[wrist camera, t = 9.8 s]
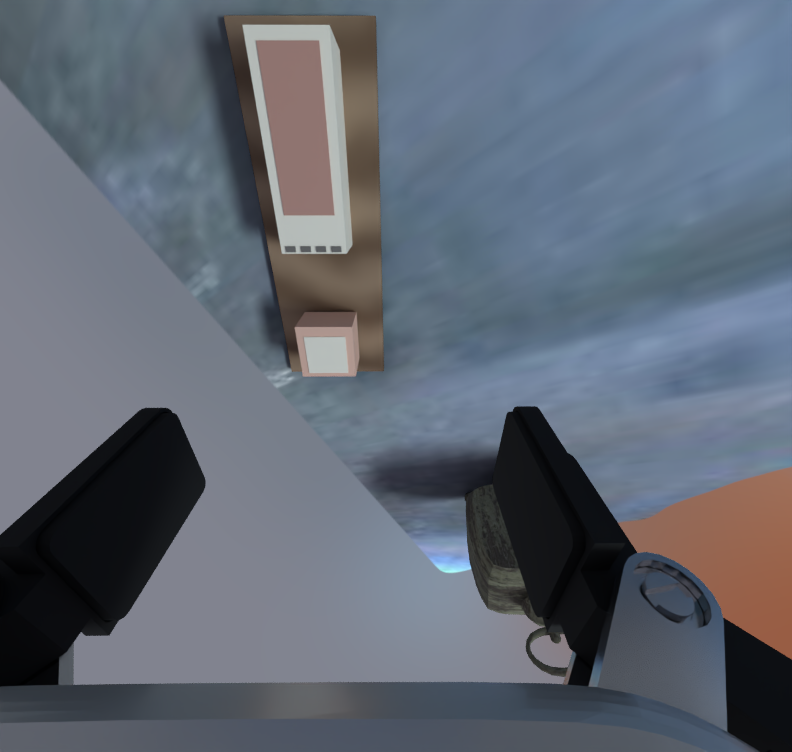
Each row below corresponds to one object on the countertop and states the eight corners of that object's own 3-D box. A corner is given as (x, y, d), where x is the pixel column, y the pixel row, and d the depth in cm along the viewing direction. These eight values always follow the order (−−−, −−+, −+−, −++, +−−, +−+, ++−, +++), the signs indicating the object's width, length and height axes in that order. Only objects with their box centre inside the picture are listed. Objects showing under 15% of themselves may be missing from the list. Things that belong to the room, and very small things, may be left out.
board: (228, 19, 26) (223, 15, 25) (375, 20, 26) (375, 15, 26) (293, 368, 43) (291, 371, 42) (383, 368, 43) (383, 371, 42)
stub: (305, 312, 38) (294, 327, 34) (356, 311, 38) (352, 327, 34) (311, 357, 41) (302, 376, 37) (359, 357, 41) (355, 376, 37)
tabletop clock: (457, 501, 57) (496, 694, 35) (455, 464, 52) (498, 661, 31) (541, 493, 56) (633, 686, 34) (546, 455, 51) (656, 651, 30)
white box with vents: (266, 50, 27) (241, 24, 22) (339, 50, 27) (329, 24, 22) (295, 245, 34) (281, 254, 30) (352, 244, 34) (346, 253, 30)
